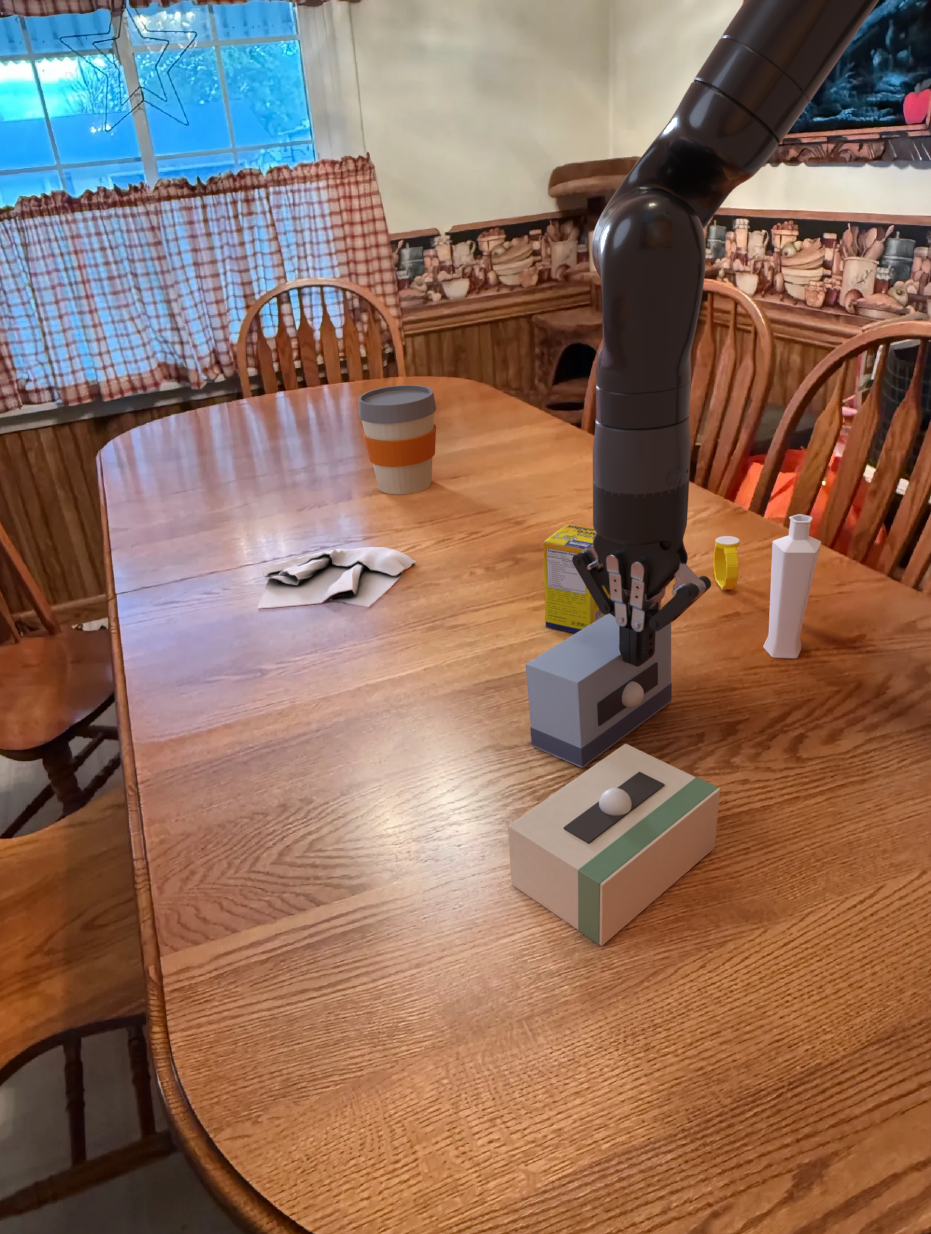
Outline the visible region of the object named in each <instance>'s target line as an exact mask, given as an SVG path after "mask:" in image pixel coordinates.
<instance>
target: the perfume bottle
mask: <svg viewBox="0 0 931 1234" xmlns="http://www.w3.org/2000/svg"><path fill="white" fill-rule="evenodd" d="M788 518H789V520H790V521H789V528H788V535H784V536H782V537H779V538H777V539H774V540H772V543H771V572H770V590H769V591H770V592H769V593H770V594H769V615H768V616H769V617H768V635H767V637H766V639H765V642H764V644H763V646H762V647H763V649H764V650H765V652H766V653H768V655H769V656H770V657H771V658H772V659H773V658H774V659H798V658H799V655H800V654H801V651H802V642H801V633H802V629H803V624H804V620H805V615H806V610H807V606H808V602H809V597H810V593H811V590H812V585H813V581H814V576H815V571H816V568H817V563H818V560H819V559H818V558H819V554H820V550H821V545H822V541H821V540H820V539H817V538H815V537H813V536H811V535H810V530H811V529H810V528H811V522H812V520H813V518H814V517H813V516H811V515H806V514H802V513H798V514H794V515H791V516H789V517H788Z"/></svg>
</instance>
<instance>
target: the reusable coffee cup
mask: <svg viewBox="0 0 931 1234" xmlns="http://www.w3.org/2000/svg"><path fill="white" fill-rule="evenodd" d="M436 411H437V405H436V400H435V394H434V390H433V389H432V388H431V387H428V386H424V385H417V384H403V385H401V384H400V385H391V386H384V387H379V388H375V389H372V390H368V391H365V392H364V393H362V394H361V395H359V396H358V418H359V419H360V420H361V423H362V426H363V430H364V431H363V432H362V436H363V440H364V446H365V448H366V453H367V456H368V460H369V462H370V463H371V464H372V466H373V470H374V474H375V478H376V482H377V486H378V490H379V491H380V492H381V493H384V494H389V495H411V494H416V493H419V492H422V491H424V490H426V489H428V488H430V487H431V485H432V482H433V481H432V480H433V479H432V478H433V458H434V456H435V455H436V440H437V439H436V438H437V426H436V424H435V412H436Z"/></svg>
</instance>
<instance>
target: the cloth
mask: <svg viewBox="0 0 931 1234" xmlns="http://www.w3.org/2000/svg"><path fill="white" fill-rule="evenodd" d="M416 564H417V561H416V560H415V559H413V558H412V557H410V556H409V555H407V554H405V553H403V552H402V551H399V550H397V549H394V548H390V547H384V546H375V547H374V546H370V547H367V546H366V547H365V546H363V547H362V546H361V547H358V548H349V549H348V548H336V549H326V550H321V551H318V552H316V553H310V554H304V555H302V556H299V557H294V558H287V559H285V560H282V561H279V562H277V563H272V564H270V565H267V566H265V567H261V571H262V574H263V575H264V578H266V577H267V576H270V578H268V579H267V581H266V584H265V587H264V590H263V592H262V595H261V597H260V600H259V602H258V605H257V610H263V609H276V608H286V607H299V606H312V605H319V604H323V603H324V602H325V601H327V600H329V601H332V602H336V603H337V602H338V603H344V604H347V605H351V606H357V607H364V608H370V607H372V606H373V605H374V604H375V603H376V602H377V601H378V600H379V599H380V598H382V597H383V596H384V595H385V594H386V593H387V592H388V591H389V590H390V589H392V587H393V586H394V585H396V584H397V582H399V580H400V579H402V577H403V574H404V573H403V571H406V570H408V569H410V568H411V567H413V566H415V565H416ZM329 598H330V599H329Z"/></svg>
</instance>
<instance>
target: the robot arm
mask: <svg viewBox="0 0 931 1234" xmlns="http://www.w3.org/2000/svg"><path fill="white" fill-rule="evenodd" d="M878 2H880V0H744V2H743V3H742V4H741V6H740V7H739V9H738V10H737V12H736V13H735V15H734V17H732V20H731V21H730V22H729V24H728V26H727V27H726V29H725V30H724V31H723V33H722V35H721V36H720V38H719V39H718V41H717V43H716V44H715V45H714V47H713V49H712V50H711V52H710V53H709V55H708V56H707V58H706V60H705V61H704V63H703V64H702V66H701V67H700V69H699V70H698V72H697V74H696V76H695V77H694V78H693V81H692V82H691V83H690V85H689V86H688V88H687V90H686V92H685V93H684V95H683V96H682V99H681V100H680V102H679V104H678V106H677V108H676V109H675V111H674V112H673V115H672V116H671V117H670V119H669V121H668V122H667V124H666V125H665V126H664V128H663V129H662V130H661V131H660V133H659V134H658V135H657V136H656V137H655V139H654V140H653V141H652V143H651V144H650V145H649V146H648V147H647V149H646V150H645V152H643V155H642V156H641V157H640V158H639V159H638V161H637V162H636V163H635V164H634V166H633V167H632V169H631V170H630V171H629V173H627V175H626V176H625V178H624V179H623V180H622V182H621V183H620V185H619V186H618V187H617V188H616V190H615V192H614V194H613V195H612V196H611V198H610V200H609V201H608V203H607V204H606V206H605V207H604V208H603V210H602V212H601V214H600V216H599V218H598V220H597V222H596V224H595V227H594V230H593V234H592V238H591V257H592V262H593V266H594V268H595V271H596V272H597V274H598V276H599V278H600V281H601V282H600V283H601V303H602V306H601V307H602V308H601V309H602V311H601V312H602V315H601V316H602V318H601V319H602V346H601V347H600V350H599V352H598V355H597V360H596V367H595V368H596V369H595V370H596V371H595V424H594V425H595V428H594V436H593V441H592V442H593V443H592V527H594V530H595V531H596V535H595V537H594V539H593V546H591V547H589V548H587V549H585V550H583V551H581V552H579V553H578V554H576V555H574V556H573V558H572V562H573V564H574V566H575V568H576V570H577V571H578V573H579V575H580V577H581V578H582V580H583V582H584V584H585V585H586V587H587V589H588V590H589V592H590V594H591V596H592V597H593V599H594V601H595V603H596V604H597V606H598V608H599V610H600V611H601V612H602V613H603V614H605V615H607V614H609V613H610V614H611V615H613V616H614V617H615V619H616V622H617V624H618V625H619V650H620V653H621V655H623V661H624V662H626V663H629V664H631V665H634V666H637V667H639V666H640V665H642V664H643V663H645V662H646V661H648V660H649V659H650V658H651V657H653V655H654V653H655V635H656V631H659V630H661V629H662V628H664V627H665V626H667V625H668V624H670V623H671V624H672V623H673V622H674V621H676V620H677V619H678V618H679V617H680V616H681V615H683V614H684V613H685V612H686V611H687V610H688V609H689V608H690V607H691V606H692V605H693V604H694V603H695V602H696V601H698V599H700V598H701V597H703V595H704V594H705V593H706V592H707V591H709V589H710V588H711V587H712V581H711V579H710V578H709V577H708V576H706V575H700V576H699V577H698V576H697V574H696V573H695V572H694V571H693V570H692V569H691V568H690V567H689V566H688V561H689V560H688V556H689V555H688V552H687V550H686V547H685V543H684V536H685V534H686V530H687V525H688V512H689V494H690V493H689V491H690V475H691V474H690V473H691V455H692V439H691V429H690V411H691V409H690V408H691V388H692V387H691V386H692V348H693V344H694V339H695V335H696V330H697V326H698V320H699V315H700V309H701V304H702V298H703V291H704V285H705V277H706V260H707V258H706V257H707V255H706V254H707V251H706V249H707V248H706V247H707V246H706V245H707V244H706V237H705V231H704V230H705V228H706V227H707V225H708V224H709V222H710V221H711V220H712V219H713V217H714V215H716V213H717V212H718V210H719V209H720V207H721V206H722V205H723V204H724V202H725V201H726V199H727V198H728V196H730V194H731V193H732V192H733V191H734V190H735V189H737V187H738V186H740V185H741V184H743V183H746V182H747V181H749V180H750V179H751V178H753V177H754V176H755V175H756V174H757V173H758V172H759V171H760V170H761V169H762V167H764V166H765V164H767V162H768V160H769V159H770V158H771V156H773V154H774V153H775V152H776V150H777V149H778V147H779V145H780V144H781V143H782V141H784V139H785V137H786V136H787V134H788V133H789V132H790V130H791V129H792V127H793V126H794V124H795V123H796V122H797V120H798V119H799V117H800V116H801V115H802V114H803V112H804V110H805V109H806V108H807V107H808V104H809V103H811V101H812V100H813V98H814V96H815V95H816V94H817V92H818V91H819V89H820V88H821V86H822V85H823V83H824V82H825V80H826V79H827V78H828V76H829V75H830V73H831V72H832V70H833V69H834V67H835V66H836V64H837V63H838V62H839V60H840V58H841V57H842V55H843V54H844V53H845V51H846V50H847V48H848V46H849V45H850V44H851V42H852V41H853V39H854V38H855V36H856V35H857V33H858V32H859V30H861V28H862V26H863V25H864V23H865V22H866V20H867V19H868V17H869V16H870V14H871V13H872V11H873V10H874V8H875V7H876V5H878ZM674 579H675V582H674V584H673V586H672V590H671V594H672V595H673V596H672V598H671V599H670V600H669V601H667V603H666V604H664V606H663V607H662V608H661V606H662V601H663V599H664V598H665V595H666V591H667V587H668V585H670V583H671V582H673V580H674ZM602 585H603V586H604V587H605V588H606V590H607V592H608V594H609V595H610V597H609V598H608V596H607V594H606V593H605V591H604V589H603V587H602Z"/></svg>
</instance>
